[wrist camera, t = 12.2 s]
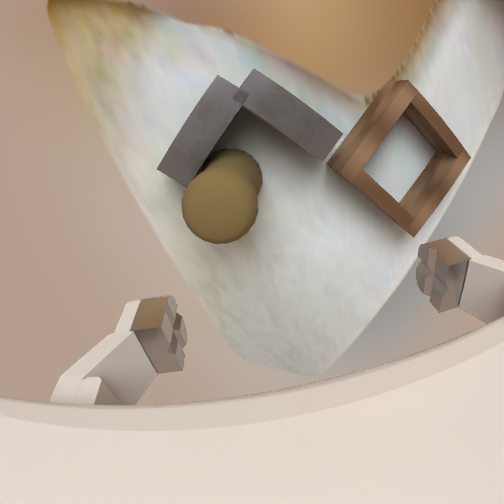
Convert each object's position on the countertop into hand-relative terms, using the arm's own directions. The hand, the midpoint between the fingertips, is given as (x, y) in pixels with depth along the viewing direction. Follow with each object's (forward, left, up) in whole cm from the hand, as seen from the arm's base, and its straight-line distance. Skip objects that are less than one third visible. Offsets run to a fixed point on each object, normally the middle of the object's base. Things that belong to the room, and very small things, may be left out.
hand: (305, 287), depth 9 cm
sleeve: (-10, +12, -22) cm, 27 cm away
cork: (+3, -1, -22) cm, 22 cm away
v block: (-3, -3, -22) cm, 22 cm away
